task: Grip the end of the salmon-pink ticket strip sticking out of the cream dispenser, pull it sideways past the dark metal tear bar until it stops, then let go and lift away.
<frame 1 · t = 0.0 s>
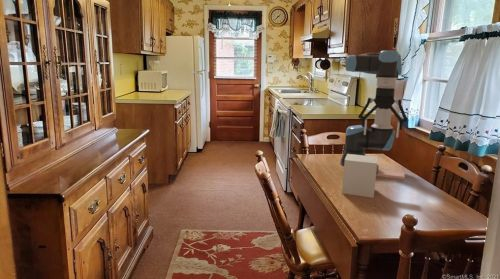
hand: (380, 135, 164), 28 cm above the table, fingers open, 13 cm apart
dispenser: (358, 191, 174), on the table
ticket strip: (376, 172, 170), point 10 cm above the table, slide at 0.0 cm
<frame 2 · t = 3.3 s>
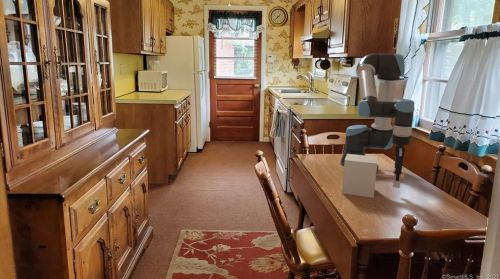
hand: (396, 184, 168), 5 cm above the table, fingers closed on ticket strip, 6 cm apart
ticket strip: (376, 172, 170), point 10 cm above the table, slide at 0.0 cm, touching gripper
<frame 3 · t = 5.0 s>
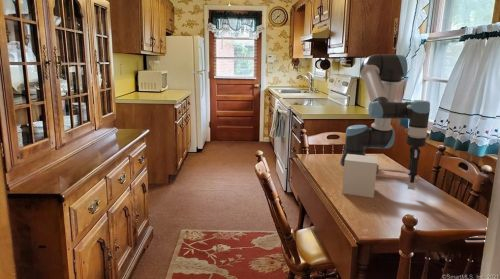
hand: (410, 186, 166), 5 cm above the table, fingers closed on ticket strip, 6 cm apart
ticket strip: (390, 174, 168), point 10 cm above the table, slide at 6.0 cm, touching gripper
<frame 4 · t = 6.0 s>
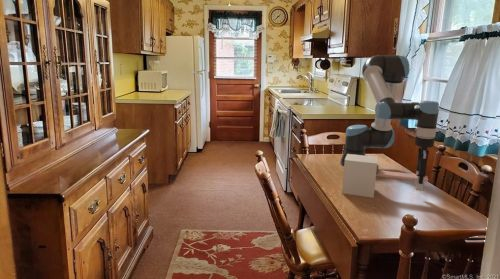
hand: (418, 187, 165), 5 cm above the table, fingers closed on ticket strip, 6 cm apart
ticket strip: (398, 175, 167), point 10 cm above the table, slide at 9.4 cm, touching gripper
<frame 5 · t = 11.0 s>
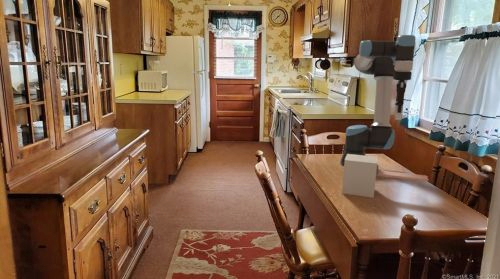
hand: (397, 117, 170), 35 cm above the table, fingers open, 13 cm apart
ticket strip: (398, 175, 167), point 10 cm above the table, slide at 9.5 cm
at the end: ticket strip slide at 9.5 cm; the gripper is holding nothing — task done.
